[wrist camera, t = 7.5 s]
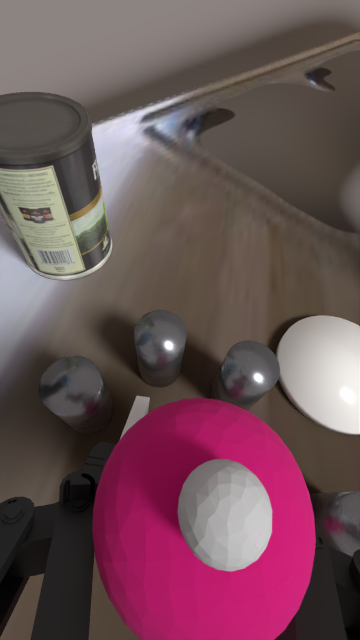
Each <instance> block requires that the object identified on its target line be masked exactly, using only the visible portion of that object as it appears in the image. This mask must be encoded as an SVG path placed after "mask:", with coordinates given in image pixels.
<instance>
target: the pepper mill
mask: <svg viewBox="0 0 360 640" xmlns="http://www.w3.org/2000/svg"><path fill="white" fill-rule="evenodd" d="M92 532H93V542H94V552H95V558H96V561H97V565H98V569H99V573H100V577H101V580H102V582H103V585H104V587H105V589H106V592H107V594H108V597H109V599H110V601H111V602H112V604H113V605H114V607H115V609H116V610H117V612H118V614H119V615H120V617H121V618H122V620H123V622H124V623H125V625H126V626H127V627H128V628H129V629H130V630H131V631H132V632H133V633H134V634H135V635H136V636H137V637H138V638H139V639H140V640H274V639H275V638H277V637H278V636H279V635H280V634H281V633H282V632H283V631H284V630H285V629H286V627H287V626H288V624H289V623H290V621H291V620H292V618H293V617H294V616H295V614H296V613H297V611H298V610H299V608H300V605H301V603H302V600H303V598H304V595H305V593H306V590H307V588H308V585H309V583H310V578H311V573H312V567H313V561H314V555H315V543H316V537H315V522H314V513H313V508H312V504H311V499H310V494H309V491H308V489H307V486H306V483H305V481H304V478H303V475H302V473H301V471H300V469H299V467H298V465H297V463H296V461H295V459H294V457H293V455H292V453H291V452H290V450H289V449H288V448H287V446H286V445H285V444H284V442H283V441H282V440H281V438H280V437H279V436H278V435H277V434H276V433H275V432H274V431H273V430H272V429H271V428H270V427H269V426H268V425H267V424H266V423H264V422H263V421H262V420H260V419H259V418H257V417H256V416H254V415H253V414H251V413H250V412H248V411H247V410H244V409H242V408H240V407H238V406H235V405H233V404H231V403H227V402H224V401H220V400H216V399H205V398H192V399H183V400H179V401H176V402H172V403H169V404H166V405H163V406H160V407H158V408H156V409H155V410H153V411H151V412H150V413H148V414H147V415H145V416H144V417H142V418H141V419H139V420H138V421H137V422H136V423H135V424H134V425H133V426H132V427H131V428H129V429H128V430H127V431H126V433H125V434H124V435H123V437H122V438H121V439H120V441H119V442H118V443H117V444H116V446H115V447H114V449H113V451H112V453H111V455H110V457H109V459H108V460H107V462H106V464H105V466H104V469H103V472H102V475H101V478H100V481H99V484H98V487H97V491H96V497H95V502H94V508H93V530H92Z"/></svg>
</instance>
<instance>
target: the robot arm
mask: <svg viewBox="0 0 360 640" xmlns="http://www.w3.org/2000/svg"><path fill="white" fill-rule="evenodd" d="M149 400H150V398H149V397H142V396H136V399H135V401H134V404H133V406H132V409H131V412H130V414H129V417H128V419H127V422H126V425H125V427H124V430H123V432H122V435H121V438H122V437H123V435H124V434H125V433H126V431H127V430H128V429H129V428H131V427H132V426H133V425H134V424H135V423H136V422H137V421H138V420H139V419H141V418H142V417H144V416H145V415H147V414H148V407H149ZM121 438H120V439H121ZM119 441H120V440H119ZM115 446H116V444H114V443H108V442H99V443H98V444H97V445H96V446H94V447H93V448H92V450H91V452H90V454H89V457H88V458H87V460H86V462H85V465H84V466H83V468H82V470H81V471H77V472H73V473H71V474H69V475H68V476H66V477H65V478H64V479H63V481H62V483H61V485H60V496H59V502H57V503H54V504H50V505H45V506H37V507H34V503H33V502H32V501H31V500H30V499H28V498H26V497H14V498H10V499H7V500H6V501H4V502H2V503H0V637H1V635H2V633H3V631H4V628H5V626H6V624H7V622H8V620H9V618H10V616H11V614H12V612H13V610H14V608H15V606H16V604H17V602H18V600H19V597H20V595H21V593H22V591H23V589H24V587H25V585H26V583H27V581H28V579H29V577H30V576H34V575H39V574H43V573H45V574H44V579H43V583H42V588H41V593H40V598H39V602H38V607H37V612H36V617H35V621H34V626H33V631H32V636H31V640H88V638H89V623H90V608H91V593H92V578H93V563H94V542H93V532H92V530H93V508H94V502H95V497H96V491H97V487H98V484H99V481H100V478H101V475H102V472H103V469H104V466H105V464H106V462H107V460H108V459H109V457H110V455H111V453H112V451H113V449H114V447H115ZM315 537H316V543H315V555H314V561H313V567H312V573H311V578H310V583H309V585H308V588H307V590H306V593H305V595H304V598H303V600H302V603H301V605H300V608H299V610H298V611H297V613H296V614H295V616H294V617H293V618H292V620H291V621H290V623H289V624H288V626H287V627H286V629H285V630H284V631H283V632H282V633H281V634H280V635H279V636H278V637H277V638H275V639H274V640H360V549H358V550H356V551H355V552H354V554H353V557H352V556H350V555H347V554H345V553H343V552H341V551H338V550H336V549H334V548H332V547H330V546H329V545H327V543H326V540H325V539H324V537H323V536H322V535H321V533H320V532H318V531H317V530H316V529H315Z"/></svg>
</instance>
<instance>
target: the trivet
mask: <svg viewBox="0 0 360 640" xmlns="http://www.w3.org/2000/svg"><path fill="white" fill-rule="evenodd" d="M275 356H276V358H277V360H278V362H279V366H280V375H279V378H278V379H279V382H280V385H281V387H282V389H283V391H284V392H285V394H286V396H287V397H288V399H289V400H290V401H291V403H292V404H293V405H294V406H295V407H296V408H297V409H298V410H299V411H300V412H301V413H302V414H303V415H304V416H305V417H307V418H308V419H309V420H311V421H312V422H314V423H315V424H317V425H319V426H321V427H323V428H325V429H327V430H330V431H333V432H336V433H340V434H345V435H360V326H358V325H356V324H355V323H352V322H350V321H348V320H345V319H342V318H338V317H333V316H311V317H307V318H304V319H302V320H300V321H298V322H296V323H295V324H293V325H292V326H291V327H290V328H289V329H288V330H287V331H286V333H285V334H284V335H283V337H282V338H281V340H280V342H279V344H278V346H277V349H276V355H275Z"/></svg>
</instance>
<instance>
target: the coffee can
mask: <svg viewBox="0 0 360 640" xmlns="http://www.w3.org/2000/svg"><path fill="white" fill-rule="evenodd" d="M91 131H92V123H91V118H90V115H89V113H88V111H87V110H86V109H85V107H83V106H82V105H81V104H79V103H78V102H76V101H74V100H72V99H70V98H67V97H64V96H60V95H56V94H51V93H42V92H19V93H11V94H5V95H0V213H1V215H2V216H3V218H4V220H5V222H6V224H7V226H8V227H9V229H10V231H11V233H12V235H13V236H14V238H15V240H16V242H17V244H18V245H19V247H20V249H21V251H22V253H23V254H24V256H25V259H26V262H27V264H28V265H29V266H30V268H31V269H32V270H33V271H35V272H36V273H38V274H39V275H41V276H44V277H46V278H50V279H57V280H71V279H76V278H80V277H84V276H87V275H89V274H90V273H93V272H95V271H96V270H98V269H99V268H100V267H101V266H102V265H103V264H104V263H105V262H106V261H107V260H108V258H109V256H110V254H111V251H112V239H111V236H110V232H109V227H108V221H107V216H106V210H105V204H104V199H103V193H102V188H101V182H100V176H99V170H98V165H97V160H96V154H95V148H94V143H93V138H92V132H91Z"/></svg>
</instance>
